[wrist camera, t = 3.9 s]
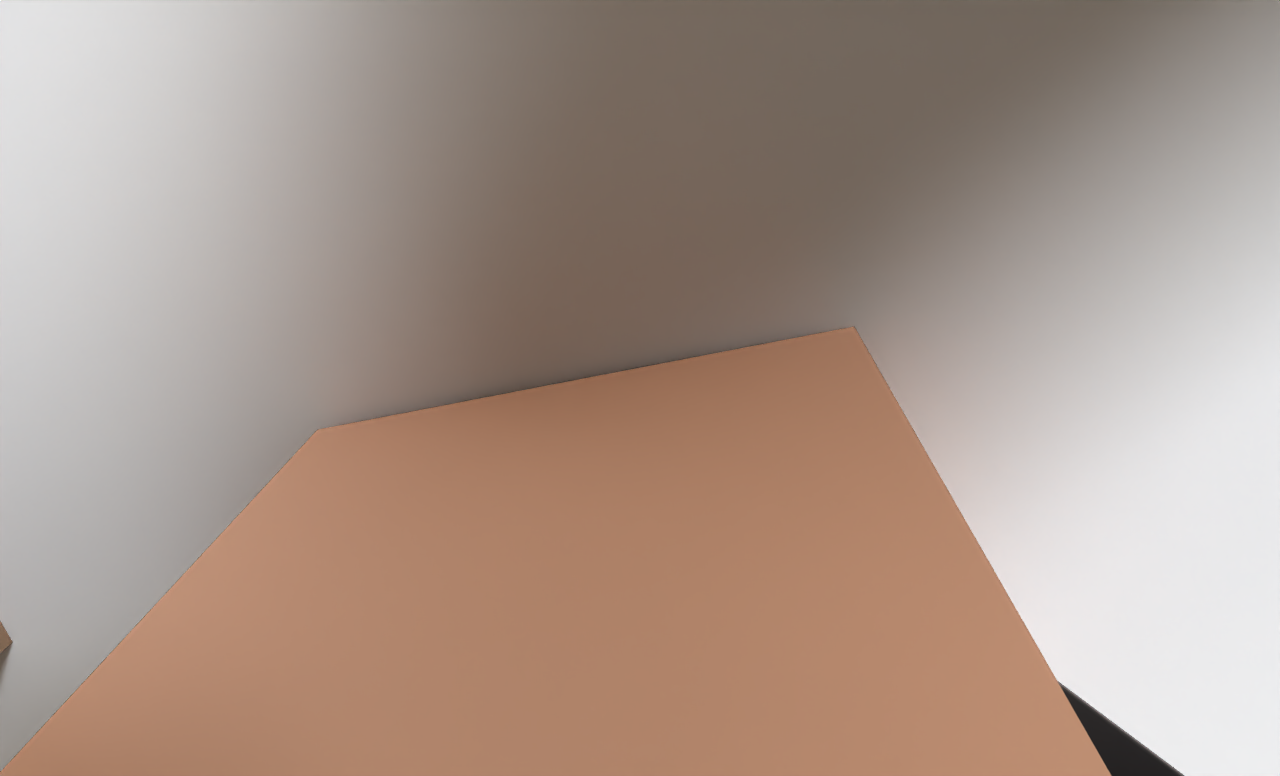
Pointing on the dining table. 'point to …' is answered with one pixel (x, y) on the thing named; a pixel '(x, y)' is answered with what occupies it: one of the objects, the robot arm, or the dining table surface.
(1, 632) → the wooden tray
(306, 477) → the terracotta cube
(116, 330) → the dining table surface
